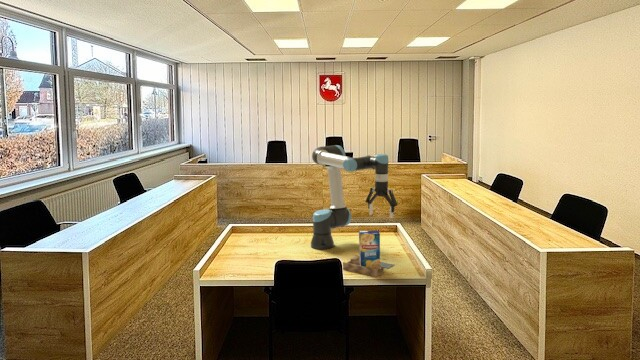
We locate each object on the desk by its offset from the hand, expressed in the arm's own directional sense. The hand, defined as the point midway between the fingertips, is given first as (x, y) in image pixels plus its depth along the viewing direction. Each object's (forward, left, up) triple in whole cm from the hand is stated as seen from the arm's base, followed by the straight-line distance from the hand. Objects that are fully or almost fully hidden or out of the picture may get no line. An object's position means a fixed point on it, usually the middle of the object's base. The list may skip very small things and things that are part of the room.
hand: (381, 216), depth 314 cm
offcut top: (-5, -20, -24) cm, 32 cm away
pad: (+4, -9, -27) cm, 28 cm away
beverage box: (+4, -20, -27) cm, 34 cm away
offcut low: (-5, -20, -27) cm, 34 cm away
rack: (+2, -24, -27) cm, 36 cm away
